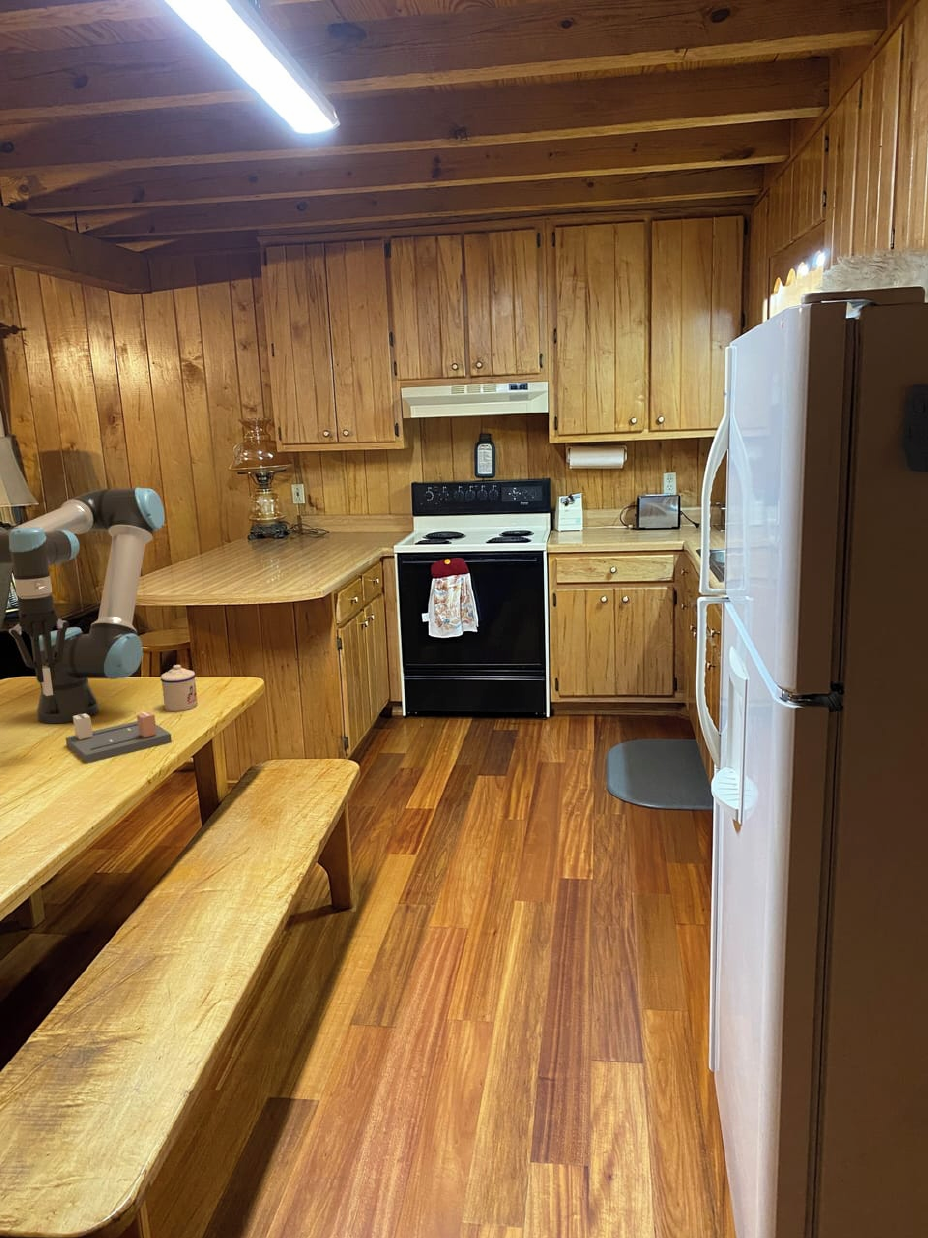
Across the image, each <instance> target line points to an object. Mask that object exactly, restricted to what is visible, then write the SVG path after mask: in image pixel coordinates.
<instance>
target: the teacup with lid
mask: <svg viewBox="0 0 928 1238" xmlns="http://www.w3.org/2000/svg"><path fill="white" fill-rule="evenodd" d="M196 675H197V674H196V673H195V671H194V670H189V669H186V668H183V667H182V666H181V664H174V665H173V667H172V668H171V669H170V670H168V671H167V672H165V673H163V674H162V675H160V681H161V685H162V693H163V694H162V696H163V704H164V709H165V710H166V711H170V712H181V711H182V712H183V710H184V711H187V710H191V709H194V708H196V707H197V706H198V695H197V685H196Z"/></svg>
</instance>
